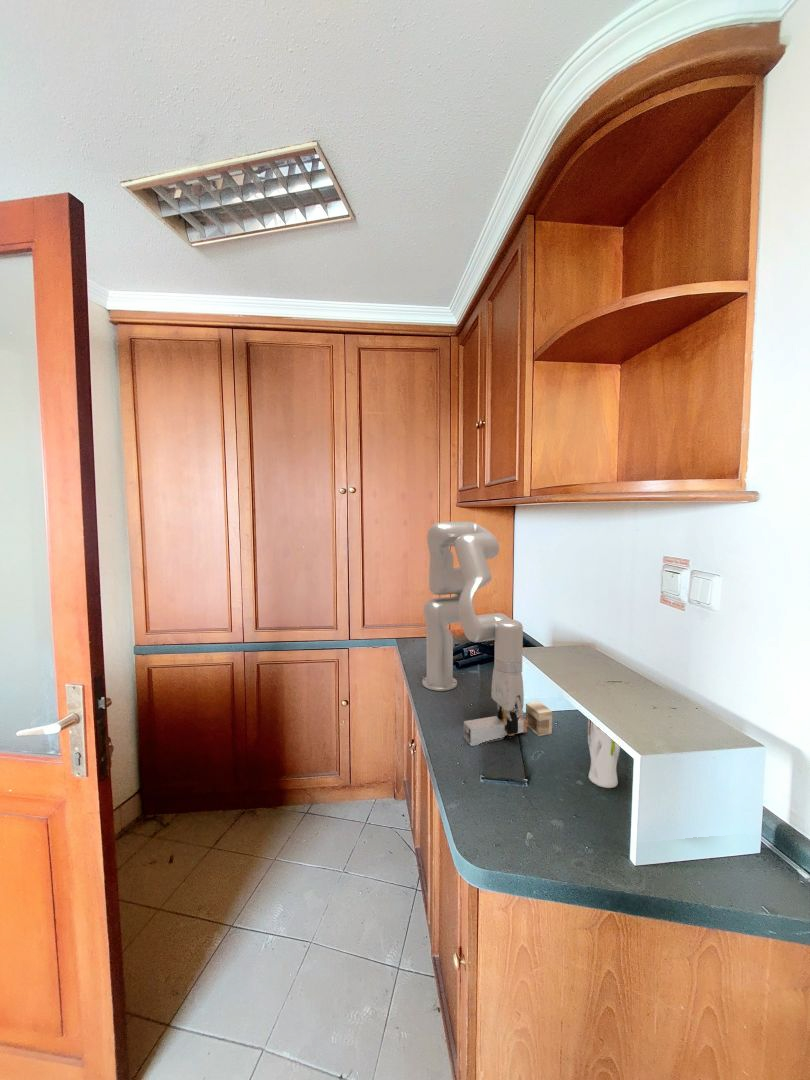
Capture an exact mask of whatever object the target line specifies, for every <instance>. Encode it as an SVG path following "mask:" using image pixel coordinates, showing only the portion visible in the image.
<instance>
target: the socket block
mask: <svg viewBox="0 0 810 1080" xmlns="http://www.w3.org/2000/svg"><path fill="white" fill-rule="evenodd" d="M525 720H526V721H527V728H529V729H530V731H533V733H534V734H536V735H537V736H538V737H540V736H546V735H547V736H548V735H551V734H553V710H552V709H550V708H549V707H548V706H545V704H543V703H542V702H541V701H539V700H538V701H532V702H526V703H525Z"/></svg>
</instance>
